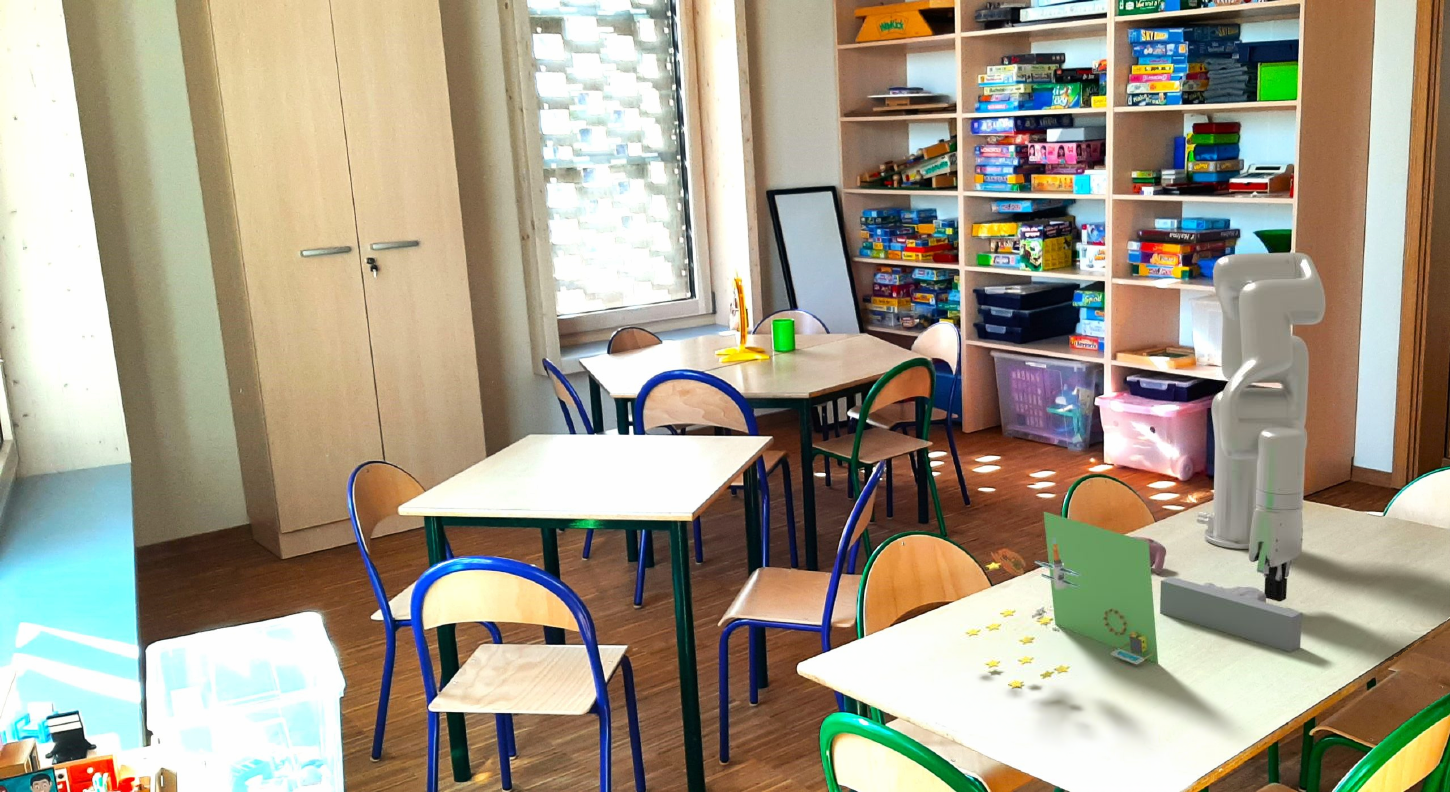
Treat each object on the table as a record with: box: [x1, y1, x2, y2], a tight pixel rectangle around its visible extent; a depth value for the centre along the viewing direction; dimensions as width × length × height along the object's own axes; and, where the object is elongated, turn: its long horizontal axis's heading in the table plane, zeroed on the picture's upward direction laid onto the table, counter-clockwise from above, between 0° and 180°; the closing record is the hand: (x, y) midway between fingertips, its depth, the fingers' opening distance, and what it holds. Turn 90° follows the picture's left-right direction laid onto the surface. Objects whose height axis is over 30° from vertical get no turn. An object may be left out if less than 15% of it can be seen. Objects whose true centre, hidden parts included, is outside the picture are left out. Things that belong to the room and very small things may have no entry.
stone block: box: [1202, 582, 1267, 603], centre depth 221 cm, size 12×5×10 cm
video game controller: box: [1132, 536, 1167, 575], centre depth 245 cm, size 10×5×7 cm, turn 58°
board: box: [1159, 576, 1303, 653], centre depth 213 cm, size 24×3×6 cm, turn 38°
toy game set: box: [965, 511, 1159, 689], centre depth 202 cm, size 22×25×24 cm
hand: (1275, 598), depth 223 cm, fingers closed
